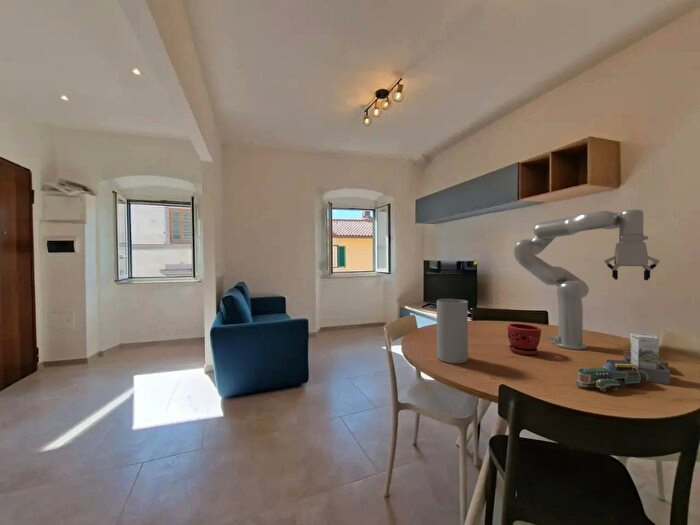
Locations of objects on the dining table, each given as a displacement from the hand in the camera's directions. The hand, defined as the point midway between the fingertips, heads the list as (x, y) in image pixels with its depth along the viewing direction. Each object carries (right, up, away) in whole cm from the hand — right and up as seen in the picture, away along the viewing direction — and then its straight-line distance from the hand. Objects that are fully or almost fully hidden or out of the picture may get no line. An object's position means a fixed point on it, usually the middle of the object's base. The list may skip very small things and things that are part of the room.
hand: (630, 279), depth 128 cm
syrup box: (-13, -33, -19) cm, 41 cm away
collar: (-4, -34, -10) cm, 35 cm away
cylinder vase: (-75, -34, +1) cm, 83 cm away
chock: (-23, -34, -21) cm, 46 cm away
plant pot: (-40, -34, +10) cm, 53 cm away
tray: (-13, -34, -19) cm, 41 cm away
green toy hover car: (-31, -35, -27) cm, 54 cm away
